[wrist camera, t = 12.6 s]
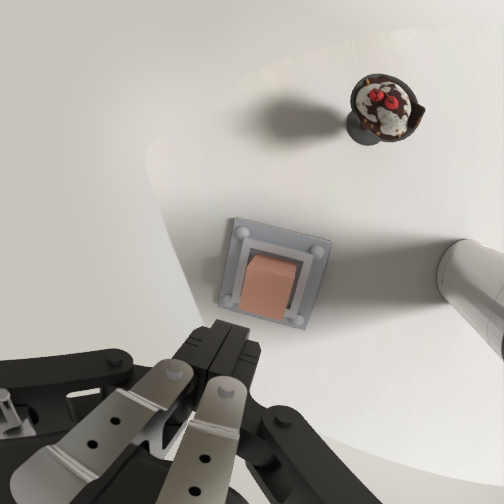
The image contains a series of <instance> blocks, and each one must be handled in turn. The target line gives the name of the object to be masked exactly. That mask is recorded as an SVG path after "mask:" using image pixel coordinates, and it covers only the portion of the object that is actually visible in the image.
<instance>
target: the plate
mask: <svg viewBox="0 0 504 504" xmlns="http://www.w3.org/2000/svg"><path fill="white" fill-rule="evenodd" d="M331 244H332V243H331V241H328V240H324V239H320V238H316V237H313V236H309V235H305V234H301V233H297V232H293V231H289V230H285V229H281V228H277V227H273V226H269V225H265V224H261V223H257V222H253V221H249V220H245V219H241V218H236V219H235V221H234V226H233V231H232V236H231V241H230V246H229V251H228V256H227V261H226V266H225V271H224V277H223V282H222V287H221V292H220V298H219V303H218V307H222V308H225V309H229V310H232V311H235V312H239V313H242V314H246V315H250V316H253V317H257V318H260V319H264V320H268V321H271V322H275V323H279V324H283V325H287V326H291V327H295V328H298V329H302V330H305V329H306V326H307V323H308V320H309V317H310V314H311V310H312V307H313V304H314V301H315V298H316V295H317V292H318V288H319V285H320V282H321V278H322V275H323V272H324V268H325V265H326V262H327V258H328V255H329V251H330V247H331ZM257 253H259V254H263V255H267V256H271V257H274V258H278V259H282V260H286V261H290V262H294V263H297V265H296V271H295V278H294V282H293V285H292V289H291V293H290V296H289V300H288V303H287V306H286V310H285V313H284V317H283V320H282V321H280V320H276V319H272V318H269V317H265V316H261V315H258V314H254V313H250V312H247V311H243V310H240V309H238V306H239V301H240V297H241V292H242V288H243V283H244V279H245V274H246V270H247V266H248V265H249V263H250V262H251V261H252V259H253V258H254V257H255V255H256V254H257Z"/></svg>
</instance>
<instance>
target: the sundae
mask: <svg viewBox="0 0 504 504" xmlns="http://www.w3.org/2000/svg"><path fill="white" fill-rule="evenodd" d="M350 103H351V108H352V112H351V113H350V115H349V116H348V118H347V129H348V132H349V134H350V135H351V137H352V138H353V139H354V140H355V141H357V142H358V143H360V144H363V145H368V146H369V145H374V144H377V143H378V142H380V141H384V142H396V141H400V140H404V139H405V138H407V137H409V136H410V135H411V134H412V133H413V132H414V131H415V129H416V128H417V127H418V125H419V123H420V122H421V119H422V117H423V114H424V112H425V108H424V107H423V106H421V105H419V104H418V101H417V99H416V96H415V94H414V93H413V91H412V90H411V89H410V88H409V87H408V85H407V84H405V83H404V82H402V81H401V80H399V79H397V78H395V77H392V76H389V75H385V74H371V75H368V76H366V77H364V78H363V79H361V80H360V81H359V82H358V83H357V84H356V86H355V87H354V89H353V91H352V94H351V100H350Z"/></svg>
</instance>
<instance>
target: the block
mask: <svg viewBox="0 0 504 504" xmlns="http://www.w3.org/2000/svg"><path fill="white" fill-rule="evenodd" d="M296 265H297V263H294V262H290V261H286V260H282V259H278V258H274V257H271V256H267V255H263V254H259V253H257V254H256V255H255V257H254V258H253V259H252V261H251V262H250V263H249V265H248V266H247V270H246V274H245V279H244V283H243V288H242V292H241V297H240V301H239V306H238V309H240V310H243V311H247V312H250V313H254V314H258V315H261V316H265V317H269V318H272V319H276V320H280V321H282V320H283V317H284V313H285V310H286V306H287V303H288V300H289V296H290V293H291V289H292V285H293V282H294V278H295V271H296Z"/></svg>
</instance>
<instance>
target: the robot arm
mask: <svg viewBox="0 0 504 504" xmlns="http://www.w3.org/2000/svg"><path fill="white" fill-rule="evenodd" d="M437 285H438V288H439V291H440V293H441V295H442V296H443V297H444V298H445V299H446V300H447V301H448V302H449V303H450V304H451V305H452V306H453V307H454V308H455V309H456V310H457V311H458V313H459V314H460V315H461V316H462V317H463V318H464V319H465V320H466V321H467V322H468V323H469V324H470V325H471V326H472V327H473V328H474V329H475V330H476V331H477V332H478V334H479V335H480V336H481V337H482V338H483V339H484V340H485V341H486V342H487V343H488V345H489V346H490V347H491V348H492V349H493V350H494V351H495V352H496V353H497V355H498V356H499V357H500V358H501V359H502V360H503V362H504V254H503V253H500V252H498V251H496V250H494V249H492V248H490V247H488V246H485V245H483V244H481V243H478V242H476V241H473V240H469V239H465V240H460V241H458V242H456V243H454V244H453V245H452V246H450V247H449V249H448V250H447V251H446V252H445V253H444V255H443V257H442V258H441V261H440V263H439V266H438V270H437ZM249 333H250V329H249V328H246V327H242V326H239V325H235V324H234V325H233V324H232V323H228V322H225V321H222V320H218V319H217V320H216V321H215V322H214V324H213V325H212V327H211V328H207V327H204V326H201V327H199V328H197V329H195V330H193V332H192V333H191V334H190V335H189V338H187V339H186V341H185V343H183V345H182V346H181V347H180V348H179V350H178V351H177V352H176V353H175V355H174V356H173V357H172V359H165V360H161V361H160V362H158V363H157V364H156V365H155V366H154V367H145V366H140V365H134V364H133V359H132V357H131V355H129V354H128V353H127V352H125V351H123V350H120V349H105V350H98V351H90V352H83V353H75V354H67V355H59V356H49V357H40V358H29V359H17V360H3V361H0V504H249V503H248V502H247V501H246V500H245V499H244V498H243V497H242V496H241V495H240V494H239V493H238V492H236V491H235V490H234V489H232V488H231V487H229V483H230V478H231V474H232V469H233V465H234V460H235V456H236V455H238V456H239V457H241V458H243V459H245V463H246V466H247V468H248V470H249V471H250V473H251V474H252V476H253V478H254V479H255V481H256V482H257V484H258V485H259V487H260V488H261V490H262V492H263V493H264V494H265V496H266V497H267V499H268V500H269V502H270V503H271V504H382V503H381V502H380V501H379V500H378V499H377V498H376V497H375V496H374V495H373V494H372V493H371V492H370V491H369V489H368V488H367V487H365V485H363V483H362V482H361V481H360V480H359V479H358V478H357V477H356V476H355V475H354V474H353V473H352V472H351V471H350V470H349V468H348V467H347V466H346V465H345V464H344V463H343V462H342V461H341V460H340V459H339V458H338V456H337V455H336V454H335V453H334V452H333V451H332V450H331V449H330V448H329V447H328V445H327V444H326V443H325V442H324V441H323V440H322V439H321V437H320V436H319V435H318V434H317V433H316V432H315V430H314V429H313V428H312V427H311V426H310V425H309V423H308V422H307V421H306V420H305V419H304V418H303V416H302V415H301V414H300V413H299V412H298V411H296V410H295V409H293V408H291V407H287V406H282V405H276V406H272V407H269V408H268V409H267V408H265V407H263V406H261V405H260V404H258V403H257V402H256V401H255V400H254V399H253V398H252V397H251V395H250V392H249V390H250V387H251V383H252V380H253V377H254V374H255V370H256V367H257V364H258V360H259V357H260V353H261V348H260V345H259V343H258V342H254V341H251V340H248V337H249ZM94 388H100V393H97V394H91V395H85V396H79V397H72V398H68V397H66V395H67V394H69V393H71V392H77V391H83V390H89V389H94ZM192 411H195V412H196V413H195V416H194V419H193V421H192V420H191V421H190V422H189V423H188V426H187V428H186V431H185V433H184V435H183V438H182V440H181V443H180V445H179V448H178V450H177V453H176V455H175V457H174V460H173V461H169V460H164V458H165V456H166V454H167V453H168V451H169V449H170V448H171V447H172V446H173V444H174V443H175V441H176V440H177V438H178V437H179V435H180V434H181V432H182V431H183V429H184V428H185V426H186V425H187V420H188V418H189V416H190V414H191V413H192Z"/></svg>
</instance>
